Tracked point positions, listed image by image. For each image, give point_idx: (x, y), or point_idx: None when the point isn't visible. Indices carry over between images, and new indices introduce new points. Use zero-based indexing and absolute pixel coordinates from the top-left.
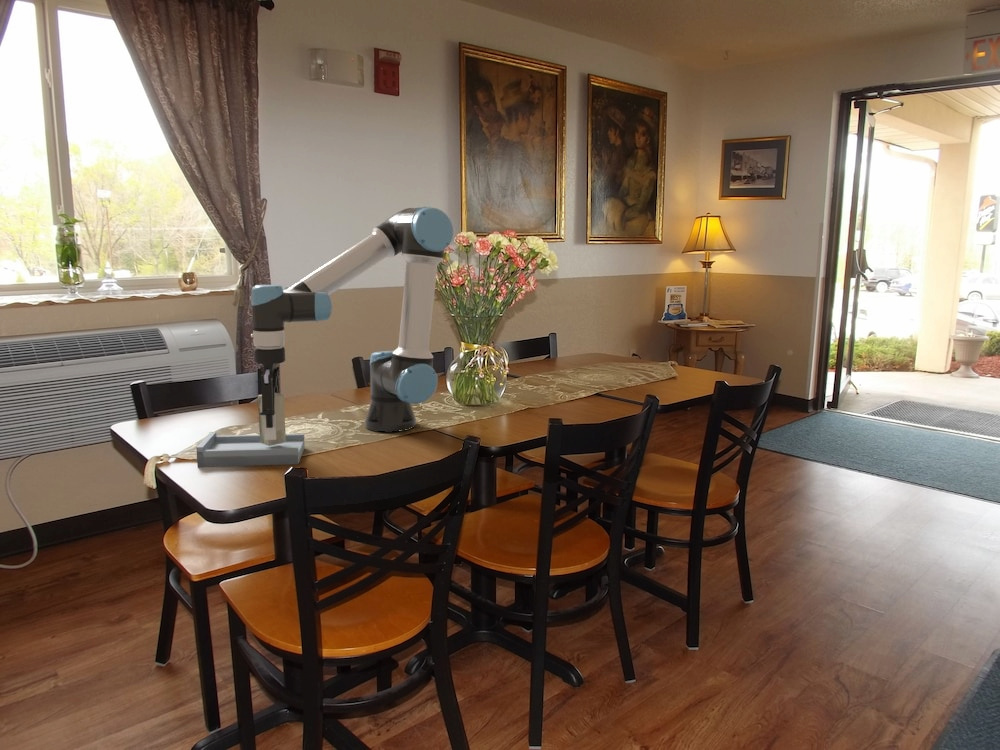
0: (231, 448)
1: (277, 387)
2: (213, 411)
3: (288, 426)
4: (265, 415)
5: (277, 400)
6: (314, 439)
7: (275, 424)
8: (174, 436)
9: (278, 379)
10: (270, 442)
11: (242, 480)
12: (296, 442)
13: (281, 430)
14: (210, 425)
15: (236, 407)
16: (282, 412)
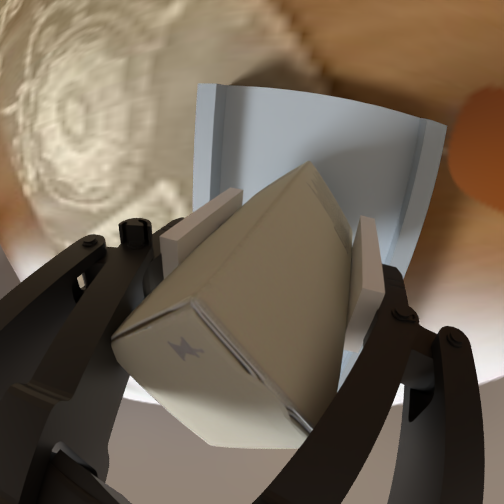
0: None
1: (66, 358)
2: None
3: (49, 162)
4: (362, 342)
5: (283, 334)
6: (137, 70)
7: (376, 253)
8: None
9: (23, 452)
10: (351, 233)
11: (495, 299)
12: (253, 113)
13: (315, 194)
14: None
15: (7, 254)
16: (283, 222)
